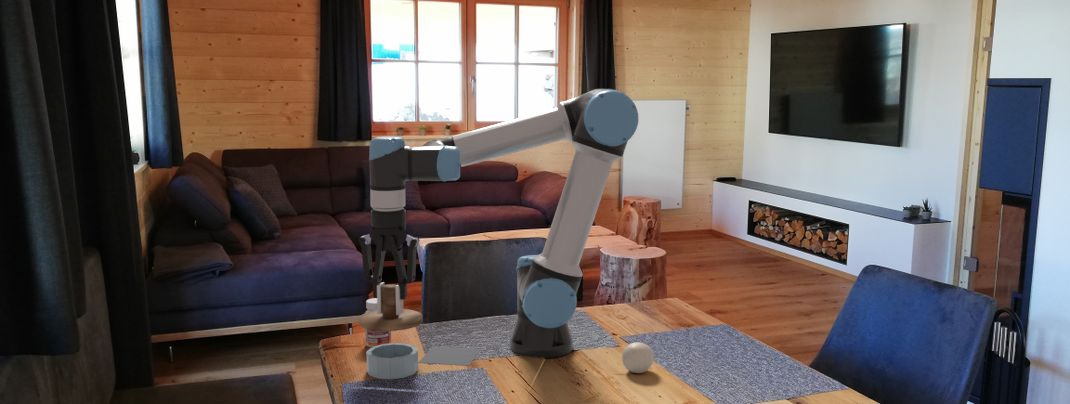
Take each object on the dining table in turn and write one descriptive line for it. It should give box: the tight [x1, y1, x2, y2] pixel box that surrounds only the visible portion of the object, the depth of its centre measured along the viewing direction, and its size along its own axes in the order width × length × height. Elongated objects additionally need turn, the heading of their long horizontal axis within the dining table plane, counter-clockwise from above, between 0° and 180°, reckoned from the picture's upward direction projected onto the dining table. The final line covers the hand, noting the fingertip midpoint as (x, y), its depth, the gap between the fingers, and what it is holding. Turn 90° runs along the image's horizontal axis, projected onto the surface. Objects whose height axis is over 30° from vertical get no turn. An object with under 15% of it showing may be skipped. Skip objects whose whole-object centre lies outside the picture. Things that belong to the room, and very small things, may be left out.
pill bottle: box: [364, 297, 392, 348], centre depth 210 cm, size 6×6×11 cm
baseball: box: [621, 341, 654, 374], centre depth 191 cm, size 7×7×7 cm
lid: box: [358, 284, 424, 332], centre depth 189 cm, size 14×14×8 cm
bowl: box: [365, 342, 419, 380], centre depth 191 cm, size 11×11×5 cm
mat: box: [418, 345, 482, 367], centre depth 201 cm, size 12×12×1 cm
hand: (390, 312), depth 189 cm, fingers closed on lid, 4 cm apart
